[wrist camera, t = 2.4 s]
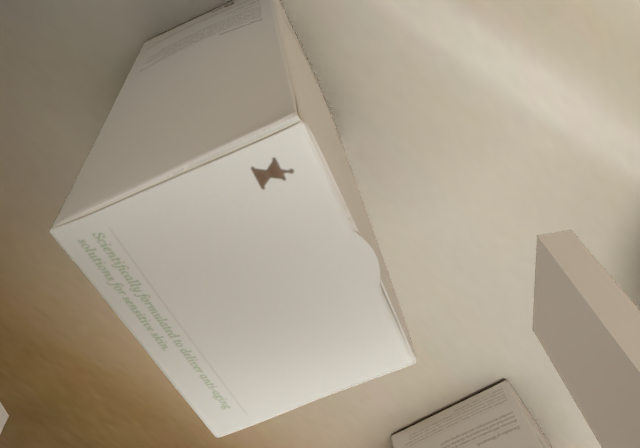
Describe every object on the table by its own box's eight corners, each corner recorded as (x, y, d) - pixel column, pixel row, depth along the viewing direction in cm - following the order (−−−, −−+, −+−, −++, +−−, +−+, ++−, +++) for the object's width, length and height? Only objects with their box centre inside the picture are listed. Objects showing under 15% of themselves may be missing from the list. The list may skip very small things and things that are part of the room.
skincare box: (141, 39, 26) (20, 219, 13) (281, -24, 25) (306, 97, 12) (229, 194, 30) (206, 452, 17) (350, 144, 30) (427, 373, 16)
